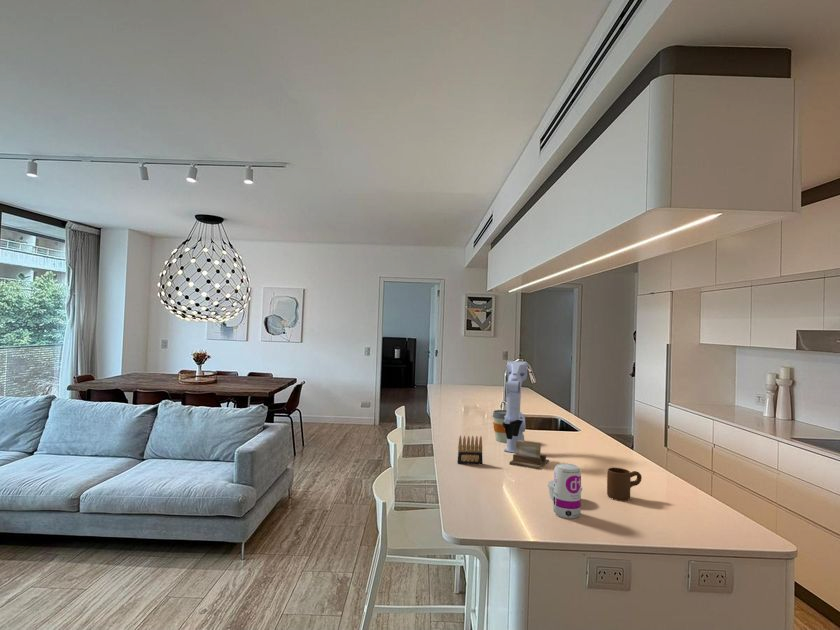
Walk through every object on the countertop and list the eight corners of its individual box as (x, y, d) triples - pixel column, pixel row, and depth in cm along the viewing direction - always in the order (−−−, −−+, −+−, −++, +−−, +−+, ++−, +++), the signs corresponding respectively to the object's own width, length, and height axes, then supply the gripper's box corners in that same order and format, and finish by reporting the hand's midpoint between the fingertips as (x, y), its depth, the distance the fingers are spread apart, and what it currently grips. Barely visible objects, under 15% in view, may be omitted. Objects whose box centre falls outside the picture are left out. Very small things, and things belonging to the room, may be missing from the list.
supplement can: (585, 518, 150) (586, 469, 151) (562, 520, 148) (563, 470, 148) (570, 508, 158) (571, 462, 158) (548, 510, 156) (549, 463, 156)
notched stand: (520, 457, 221) (520, 449, 221) (548, 462, 214) (548, 454, 214) (509, 464, 209) (509, 456, 209) (539, 469, 202) (539, 461, 202)
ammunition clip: (482, 463, 209) (482, 435, 210) (482, 464, 208) (483, 436, 208) (457, 462, 210) (458, 434, 210) (457, 463, 208) (458, 435, 208)
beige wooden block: (517, 458, 215) (517, 440, 215) (540, 461, 211) (540, 442, 211) (516, 460, 212) (516, 441, 213) (539, 463, 208) (539, 444, 209)
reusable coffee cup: (495, 437, 263) (496, 409, 263) (518, 439, 258) (519, 411, 258) (489, 441, 251) (490, 412, 251) (513, 444, 246) (514, 414, 247)
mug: (635, 493, 174) (636, 467, 175) (646, 501, 167) (647, 473, 167) (603, 493, 174) (603, 467, 174) (612, 501, 166) (613, 473, 166)
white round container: (588, 505, 162) (588, 489, 162) (558, 507, 159) (558, 491, 159) (570, 493, 173) (570, 478, 173) (541, 495, 170) (542, 480, 170)
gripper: (510, 404, 228) (509, 433, 227) (498, 408, 215) (498, 439, 215) (524, 406, 224) (524, 435, 224) (513, 410, 212) (513, 441, 211)
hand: (512, 437), depth 219 cm, fingers open, 7 cm apart
